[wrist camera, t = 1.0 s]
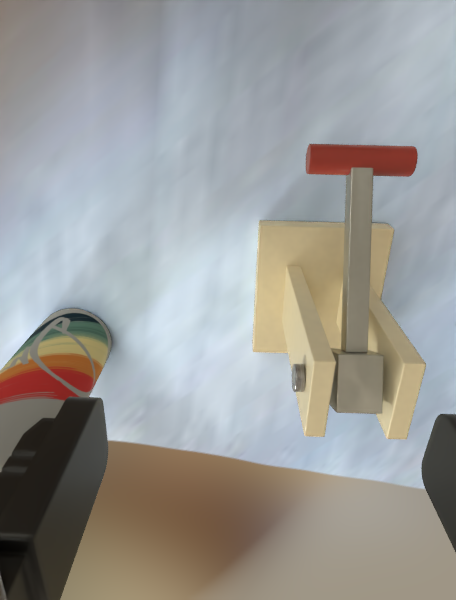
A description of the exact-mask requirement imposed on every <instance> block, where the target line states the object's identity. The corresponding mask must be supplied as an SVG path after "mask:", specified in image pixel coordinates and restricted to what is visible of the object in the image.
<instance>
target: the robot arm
mask: <svg viewBox="0 0 456 600" xmlns="http://www.w3.org/2000/svg"><path fill="white" fill-rule="evenodd" d="M107 458H108V441H107V432H106V423H105V414H104V405H103V401H102V399H101V398H93V397H68V398H67V399H66V400H65V402H64V403H63V405H62V407H61V409H60V410H59V412H58V414H57V416H56V418H42V419H41V420H39V421H38V422H37V423H36V424H35V425H33V426H32V427H31V428H30V429H29V430H27V431H26V432H25V433H24V434H23V435H22V437H21V439H20V440H19V442H18V443H17V445H16V447H15V448H14V450H13V451H12V455H11V456H9V458H8V459H7V461H6V462H5V464H4V466H3V467H2V471H1V473H0V600H60V598H61V596H62V593H63V590H64V587H65V584H66V581H67V578H68V576H69V573H70V570H71V567H72V564H73V561H74V558H75V556H76V553H77V550H78V547H79V544H80V541H81V538H82V536H83V533H84V530H85V527H86V524H87V521H88V519H89V516H90V513H91V510H92V507H93V504H94V501H95V499H96V496H97V493H98V490H99V487H100V484H101V481H102V479H103V476H104V472H105V469H106V465H107ZM422 478H423V483H424V486H425V489H426V491H427V493H428V495H429V497H430V499H431V501H432V503H433V506H434V508H435V510H436V511H437V514H438V516H439V518H440V520H441V522H442V524H443V526H444V529H445V531H446V533H447V535H448V537H449V539H450V541H451V543H452V545H453V548H454V550H455V552H456V414H440V415H439V416H438V417H437V418H436V420H435V423H434V426H433V429H432V432H431V435H430V439H429V442H428V445H427V448H426V451H425V454H424V457H423V460H422Z"/></svg>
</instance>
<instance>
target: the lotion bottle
mask: <svg viewBox="0 0 456 600" xmlns="http://www.w3.org/2000/svg"><path fill="white" fill-rule="evenodd" d="M111 344H112V342H111V336H110V333H109V331H108V329H107V327H106V326H105V324H104V323H103V322H102V321H101V320H100V319H99V318H98V317H96V316H95V315H93V314H91V313H89V312H87V311H84V310H81V309H74V308H69V309H62V310H59V311H57V312H55V313H53V314H52V315H50V316H49V317H48V318H47V319H46V320H45V321H44V322H43V323H42V324H41V325H40V326H39V327H38V328H37V329H36V330H35V332H34V333H33V334H32V335H31V336H30V337H29V338H28V340H27V341H26V342H25V343H24V344H23V345H22V346H21V348H20V349H19V350H18V351H17V352H16V353H15V354H14V356H13V357H12V358H11V359H10V360H9V361H8V362H7V364H6V365H5V366H4V367H3V368H2V369H1V371H0V473H1V471H2V467H3V466H4V464H5V462H6V461H7V459H8V458H9V456H11V455H12V451H13V450H14V448H15V447H16V445H17V443H18V442H19V440H20V439H21V437H22V435H23V434H24V433H25V432H26V431H27V430H29V429H30V428H31V427H32V426H33V425H35V424H36V423H37V422H38V421H39V420H41V419H42V418H56V416H57V414H58V412H59V410H60V409H61V407H62V405H63V403H64V402H65V400H66V399H67V398H68V397H89V395H90V393H91V391H92V389H93V387H94V385H95V383H96V381H97V379H98V377H99V375H100V373H101V371H102V369H103V367H104V365H105V363H106V361H107V359H108V357H109V354H110V351H111Z"/></svg>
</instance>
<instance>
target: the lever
mask: <svg viewBox="0 0 456 600" xmlns="http://www.w3.org/2000/svg"><path fill="white" fill-rule="evenodd" d="M416 164H417V149H416V148H415V147H414V146H378V145H337V144H309V146H308V148H307V154H306V172H307V174H325V175H346V196H345V229H344V262H343V296H342V329H341V349H339V348H331V350H332V353H333V356H334V358H335V361H336V365H335V371H334V378H333V384H332V391H331V397H330V404H329V405H330V406H331V407H332V408H333V409H334V410H335V411H336V412H337V413H369V414H382V403H383V371H384V356H383V355H381V354H378V353H376V352H373V351H371V350H368V327H369V294H370V262H371V229H372V196H373V176H406V177H409V176H411V175H412V174H413V173H414V171H415V168H416Z"/></svg>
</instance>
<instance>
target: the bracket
mask: <svg viewBox="0 0 456 600" xmlns="http://www.w3.org/2000/svg"><path fill="white" fill-rule="evenodd" d="M344 229H345V223H342V222H304V221H265V220H260V221H259V229H258V248H257V267H256V286H255V304H254V323H253V342H252V343H253V352H271V353H288V355H289V360H290V365H291V370H292V388H293V391H294V392H296V396H297V401H298V406H299V411H300V416H301V421H302V426H303V431H304V435H305V436H315V437H324V436H325V429H326V423H327V416H328V410H329V404H330V397H331V391H332V384H333V378H334V371H335V365H336V361H335V358H334V356H333V353H332V350H331V348H339V349H341V329H342V296H343V262H344ZM393 233H394V229H393V228H392V227H391V226H390V225H389V224H381V223H372V229H371V262H370V294H369V327H368V350H371V351H373V352H376V353H378V354H381V355H383V356H384V371H383V403H382V414H376V415H377V418H378V420H379V422H380V424H381V427H382V429H383V431H384V434H385V436H386V438H387V439H407V436H408V432H409V428H410V424H411V420H412V417H413V413H414V409H415V405H416V402H417V398H418V394H419V390H420V386H421V383H422V379H423V375H424V371H425V367H426V363H425V362H424V361H423V359H422V358H421V356H420V355H419V353H418V352H417V351H416V349H415V348H414V346H413V345H412V344H411V342H410V341H409V339H408V338H407V336H406V335H405V334H404V332H403V331H402V329H401V328H400V326H399V325H398V324H397V322H396V321H395V319H394V318H393V317H392V315H391V314H390V312H389V311H388V309H387V308H386V307H385V305H384V304H383V302H382V301H381V295H382V290H383V285H384V280H385V275H386V270H387V264H388V259H389V254H390V249H391V244H392V239H393Z"/></svg>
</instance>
